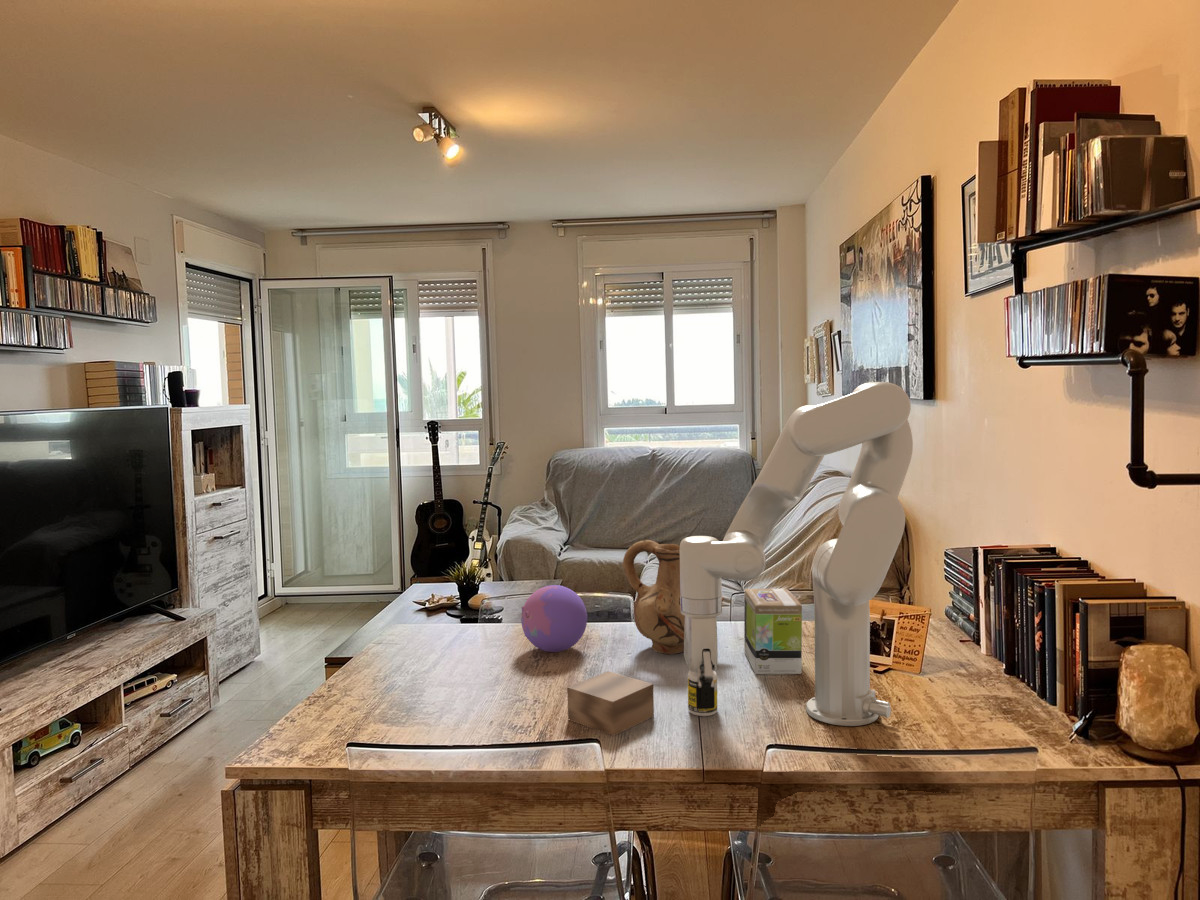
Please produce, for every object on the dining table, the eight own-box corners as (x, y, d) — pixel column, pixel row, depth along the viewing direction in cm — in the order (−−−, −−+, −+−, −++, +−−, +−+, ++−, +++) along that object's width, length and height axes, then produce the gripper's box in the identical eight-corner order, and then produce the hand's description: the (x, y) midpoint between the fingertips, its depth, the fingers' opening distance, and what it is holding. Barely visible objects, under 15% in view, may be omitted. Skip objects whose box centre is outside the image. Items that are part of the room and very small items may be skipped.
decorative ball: (513, 646, 194) (511, 583, 193) (572, 637, 201) (570, 575, 200) (535, 665, 181) (533, 597, 180) (598, 654, 187) (597, 588, 186)
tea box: (803, 675, 171) (803, 604, 170) (754, 675, 171) (753, 605, 170) (788, 651, 186) (788, 586, 185) (743, 652, 186) (742, 587, 185)
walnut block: (653, 716, 151) (653, 683, 151) (613, 735, 143) (612, 701, 143) (608, 701, 159) (608, 671, 158) (568, 719, 151) (567, 687, 150)
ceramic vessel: (664, 667, 177) (662, 551, 175) (610, 646, 193) (608, 539, 191) (725, 650, 188) (725, 540, 186) (670, 631, 203) (669, 530, 201)
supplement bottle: (683, 714, 152) (682, 662, 151) (694, 704, 157) (693, 653, 156) (711, 719, 149) (710, 666, 149) (721, 708, 154) (720, 657, 154)
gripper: (674, 593, 160) (676, 685, 161) (687, 618, 143) (689, 721, 144) (713, 592, 160) (714, 684, 162) (731, 616, 143) (732, 719, 145)
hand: (702, 700), depth 153 cm, fingers closed on supplement bottle, 5 cm apart
